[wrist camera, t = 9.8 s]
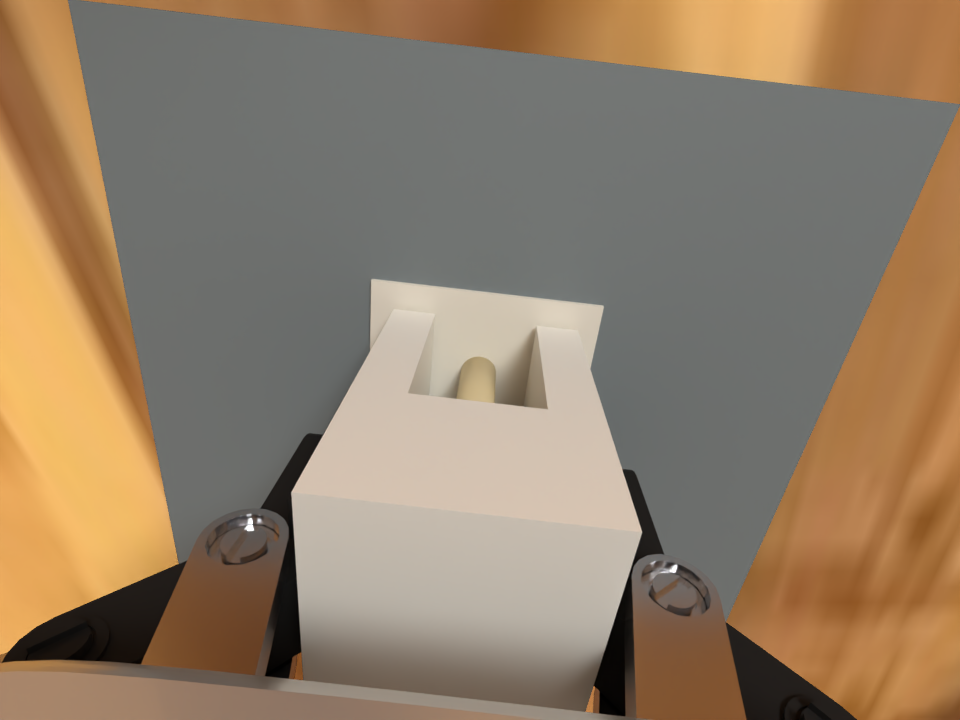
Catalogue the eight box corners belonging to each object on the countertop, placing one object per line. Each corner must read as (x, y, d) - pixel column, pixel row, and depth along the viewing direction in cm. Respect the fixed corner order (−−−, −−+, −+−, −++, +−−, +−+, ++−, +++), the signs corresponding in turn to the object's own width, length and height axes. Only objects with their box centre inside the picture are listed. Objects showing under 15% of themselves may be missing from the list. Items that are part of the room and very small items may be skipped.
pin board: (913, 104, 11) (1102, 103, 7) (690, 638, 17) (733, 763, 14) (113, 9, 10) (-72, -36, 7) (208, 584, 17) (138, 697, 14)
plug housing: (577, 330, 11) (642, 532, 6) (536, 537, 14) (554, 809, 9) (393, 308, 11) (290, 492, 6) (386, 521, 14) (310, 782, 9)
